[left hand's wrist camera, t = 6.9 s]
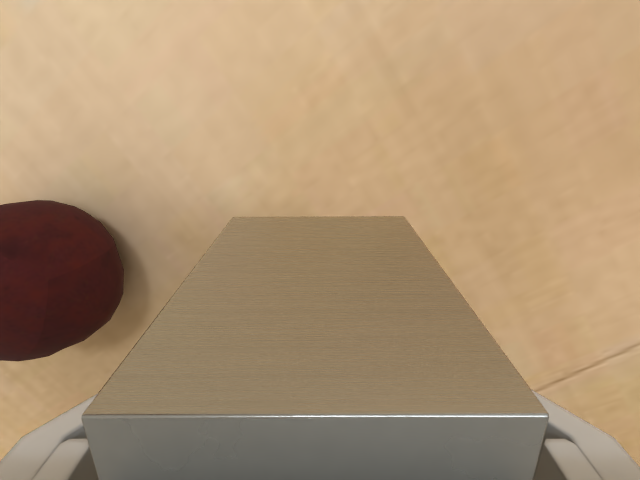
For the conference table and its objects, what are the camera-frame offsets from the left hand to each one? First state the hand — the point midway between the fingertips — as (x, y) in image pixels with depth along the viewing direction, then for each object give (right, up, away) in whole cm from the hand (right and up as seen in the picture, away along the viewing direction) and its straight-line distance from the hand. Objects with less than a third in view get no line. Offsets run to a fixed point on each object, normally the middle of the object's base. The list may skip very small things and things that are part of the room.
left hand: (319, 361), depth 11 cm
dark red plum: (-14, +3, +11) cm, 18 cm away
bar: (0, -8, +7) cm, 10 cm away
